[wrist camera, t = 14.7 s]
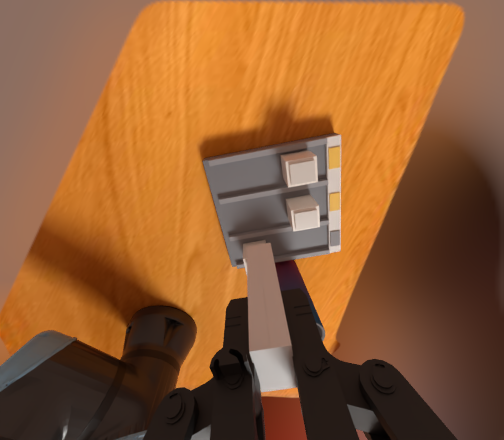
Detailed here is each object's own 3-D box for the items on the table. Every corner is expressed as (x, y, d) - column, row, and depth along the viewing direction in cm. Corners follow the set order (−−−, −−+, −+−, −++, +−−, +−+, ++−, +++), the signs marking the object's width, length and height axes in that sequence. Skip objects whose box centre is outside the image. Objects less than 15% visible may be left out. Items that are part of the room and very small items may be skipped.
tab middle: (287, 218, 37) (293, 232, 32) (285, 199, 35) (291, 211, 31) (311, 213, 36) (320, 228, 32) (310, 194, 35) (319, 206, 30)
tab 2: (283, 178, 33) (288, 188, 29) (280, 155, 32) (286, 162, 28) (309, 173, 33) (318, 183, 29) (307, 149, 32) (317, 156, 27)
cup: (274, 250, 42) (288, 316, 29) (306, 259, 43) (333, 326, 30) (262, 276, 45) (270, 347, 32) (293, 284, 46) (312, 355, 33)
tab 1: (246, 259, 40) (247, 277, 36) (243, 243, 39) (242, 260, 34) (268, 255, 40) (271, 273, 36) (265, 239, 38) (267, 256, 34)
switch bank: (232, 260, 43) (232, 269, 40) (204, 158, 34) (201, 162, 31) (335, 243, 42) (340, 251, 39) (334, 133, 33) (341, 135, 30)
